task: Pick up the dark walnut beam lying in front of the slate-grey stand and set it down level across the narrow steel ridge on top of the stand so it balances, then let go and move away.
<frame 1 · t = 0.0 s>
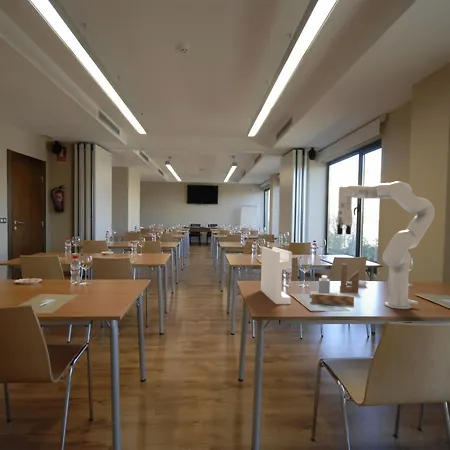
hand: (344, 234, 209), 37 cm above the table, tool pointing down, fingers open, 9 cm apart
wooden angled stand: (348, 292, 219), on the table
block: (274, 296, 201), on the table
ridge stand: (323, 296, 205), on the table
walnut beam: (332, 303, 188), on the table
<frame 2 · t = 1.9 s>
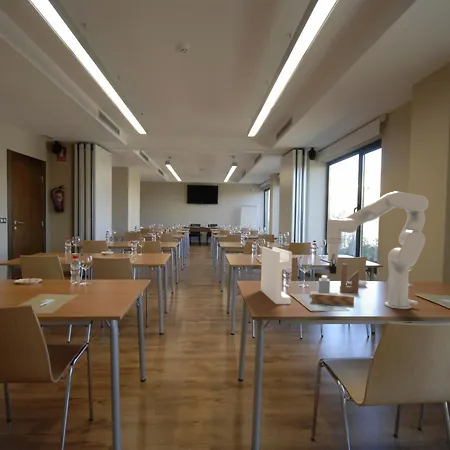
hand: (332, 272, 188), 17 cm above the table, tool pointing down, fingers open, 9 cm apart
nothing on the table moved.
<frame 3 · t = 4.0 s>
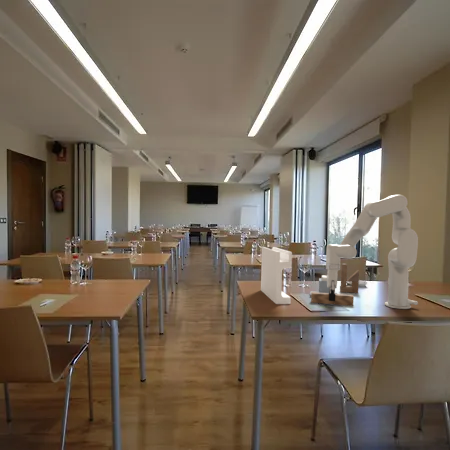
hand: (331, 299, 188), 2 cm above the table, tool pointing down, fingers closed on walnut beam, 4 cm apart
walnut beam: (331, 303, 188), on the table, touching gripper
everything else where it was.
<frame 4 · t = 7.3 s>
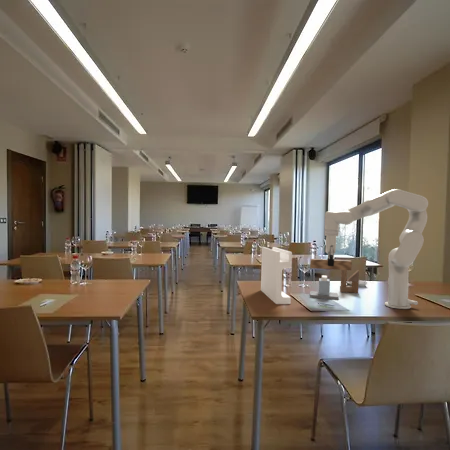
hand: (330, 265, 193), 20 cm above the table, tool pointing down, fingers closed on walnut beam, 4 cm apart
walnut beam: (330, 268, 193), point 18 cm above the table, touching gripper
everything else where it was.
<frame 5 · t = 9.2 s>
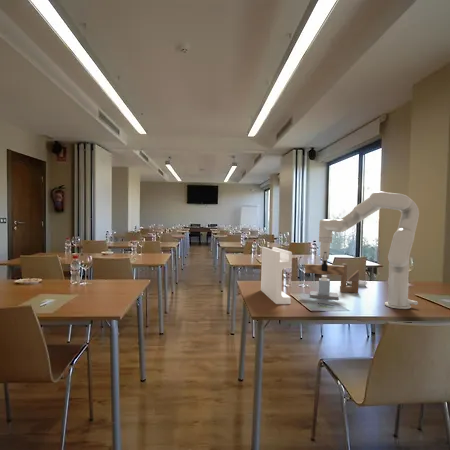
hand: (324, 270, 205), 16 cm above the table, tool pointing down, fingers closed on walnut beam, 4 cm apart
walnut beam: (324, 273, 205), point 14 cm above the table, touching gripper
everything else where it was.
when the fingers open (15 cm above the table, at t = 10.6 s): walnut beam stays where it is, resting on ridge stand.
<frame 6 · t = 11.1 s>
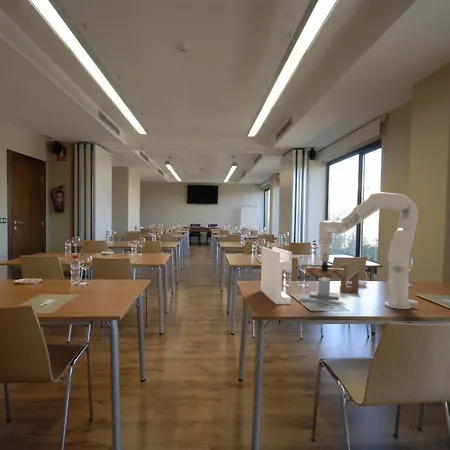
hand: (324, 270, 204), 16 cm above the table, tool pointing down, fingers open, 9 cm apart
walnut beam: (324, 276, 205), point 12 cm above the table, touching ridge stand
everything else where it was.
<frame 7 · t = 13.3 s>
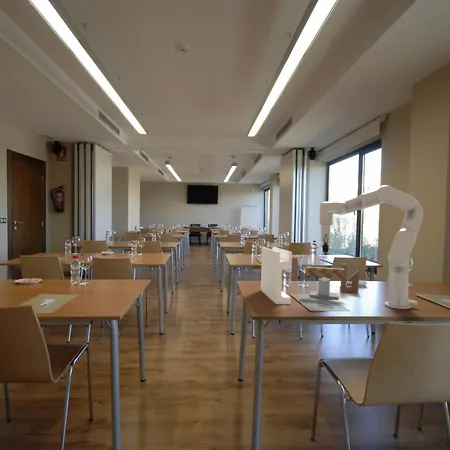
hand: (325, 251, 204), 27 cm above the table, tool pointing down, fingers open, 9 cm apart
nothing on the table moved.
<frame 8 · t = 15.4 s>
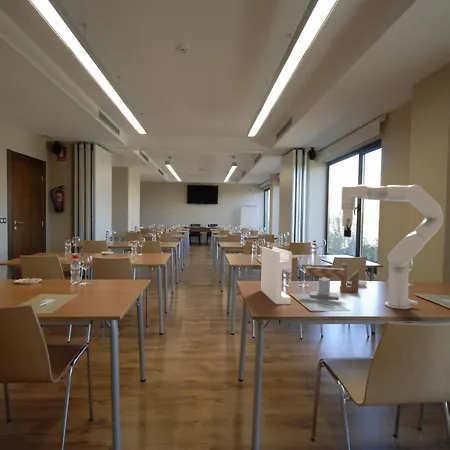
hand: (347, 236, 198), 36 cm above the table, tool pointing down, fingers open, 9 cm apart
nothing on the table moved.
at the end: walnut beam 0.0 cm off-centre on the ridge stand, point 12.0 cm above the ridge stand's base; walnut beam tilted 0°; the gripper is holding nothing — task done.
